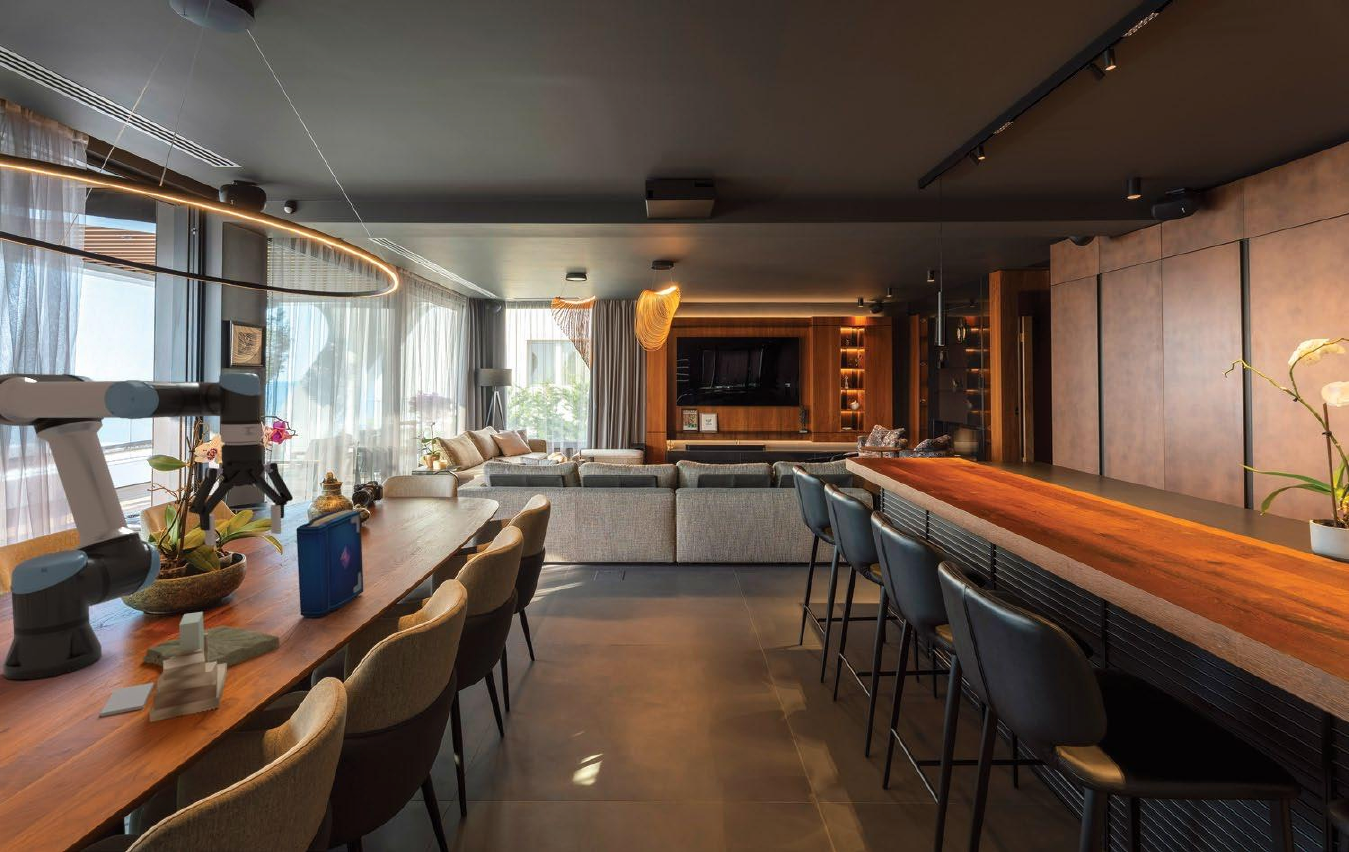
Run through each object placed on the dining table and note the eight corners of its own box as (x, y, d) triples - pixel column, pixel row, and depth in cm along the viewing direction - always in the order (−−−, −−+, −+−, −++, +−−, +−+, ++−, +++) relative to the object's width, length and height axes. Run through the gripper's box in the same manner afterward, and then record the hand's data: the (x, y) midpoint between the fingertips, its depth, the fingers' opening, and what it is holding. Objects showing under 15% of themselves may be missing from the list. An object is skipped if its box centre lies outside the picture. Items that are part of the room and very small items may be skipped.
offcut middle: (157, 693, 116) (157, 679, 116) (165, 682, 120) (165, 668, 120) (212, 684, 119) (211, 671, 119) (217, 674, 124) (217, 661, 124)
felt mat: (100, 716, 117) (100, 713, 117) (114, 692, 126) (114, 689, 126) (143, 708, 120) (143, 705, 120) (153, 685, 129) (153, 682, 129)
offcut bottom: (153, 710, 115) (153, 696, 115) (157, 697, 120) (157, 684, 120) (216, 697, 120) (215, 684, 120) (217, 685, 125) (216, 672, 125)
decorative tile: (222, 636, 157) (222, 621, 157) (281, 648, 149) (280, 633, 149) (134, 666, 140) (133, 650, 139) (195, 681, 132) (194, 664, 132)
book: (322, 620, 167) (319, 523, 165) (295, 620, 167) (292, 523, 165) (364, 594, 188) (362, 508, 187) (340, 594, 188) (338, 508, 187)
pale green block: (181, 686, 124) (179, 624, 124) (186, 673, 130) (184, 614, 130) (200, 683, 126) (198, 621, 125) (205, 669, 132) (202, 611, 131)
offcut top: (163, 680, 115) (163, 669, 115) (163, 671, 119) (163, 660, 119) (205, 671, 119) (205, 660, 119) (203, 662, 123) (203, 652, 123)
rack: (149, 722, 115) (147, 671, 114) (166, 683, 130) (164, 638, 130) (218, 708, 120) (217, 660, 119) (227, 672, 135) (225, 629, 135)
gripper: (185, 448, 131) (188, 552, 132) (307, 440, 152) (309, 530, 153) (167, 446, 134) (170, 548, 135) (289, 439, 156) (291, 527, 157)
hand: (244, 538), depth 144 cm, fingers open, 13 cm apart
